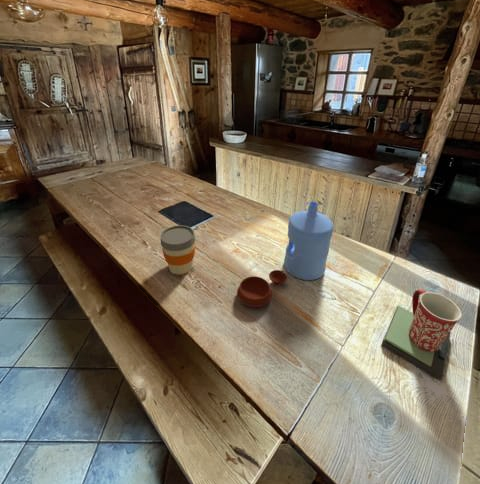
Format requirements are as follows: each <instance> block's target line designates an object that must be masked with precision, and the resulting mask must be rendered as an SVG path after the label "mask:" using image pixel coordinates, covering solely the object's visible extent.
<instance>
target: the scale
mask: <svg viewBox="0 0 480 484" xmlns="http://www.w3.org/2000/svg"><path fill="white" fill-rule="evenodd" d="M413 318H414V316H413V311H411V310H409V309H407V308H405V307H402V306H400V305H397V306H396V309H395V310H394V313H393V316H392V317H391V320H390V323H389V325H388V328H387V330H386V332H385V335H384V337H383V339H382V342H381V345H380V346H382V347H383V348H385V349H387V350H389V352H392V353H393V354H395V355H396V356H398V357H400V358H402V359H403V360H405V361H407V362H408V363H410V364H412V365H413V366H415V367H417V368H418V369H420V370H422V371H423V372H425V373H426V374H429V375H430V376H432V377H433V378H435V379H437V380H438V381H441V380H442V378H443V377H444V372H445V366H446V360H447V356H448V355H447V354H448V349H449V344H450V339H451V332H450V333H449V334H448V336H447V337H446V339H445V340H444V341H443V343H442V344H441V346H440V347H439V349H438V350H437V351H435V352H428V351H425V350H422V349H420V348H419V347H417V346H416V345H415V344H414V343H413V342H412V341H411V339H410V337H409V329H410V326H411V324H412V321H413Z"/></svg>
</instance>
